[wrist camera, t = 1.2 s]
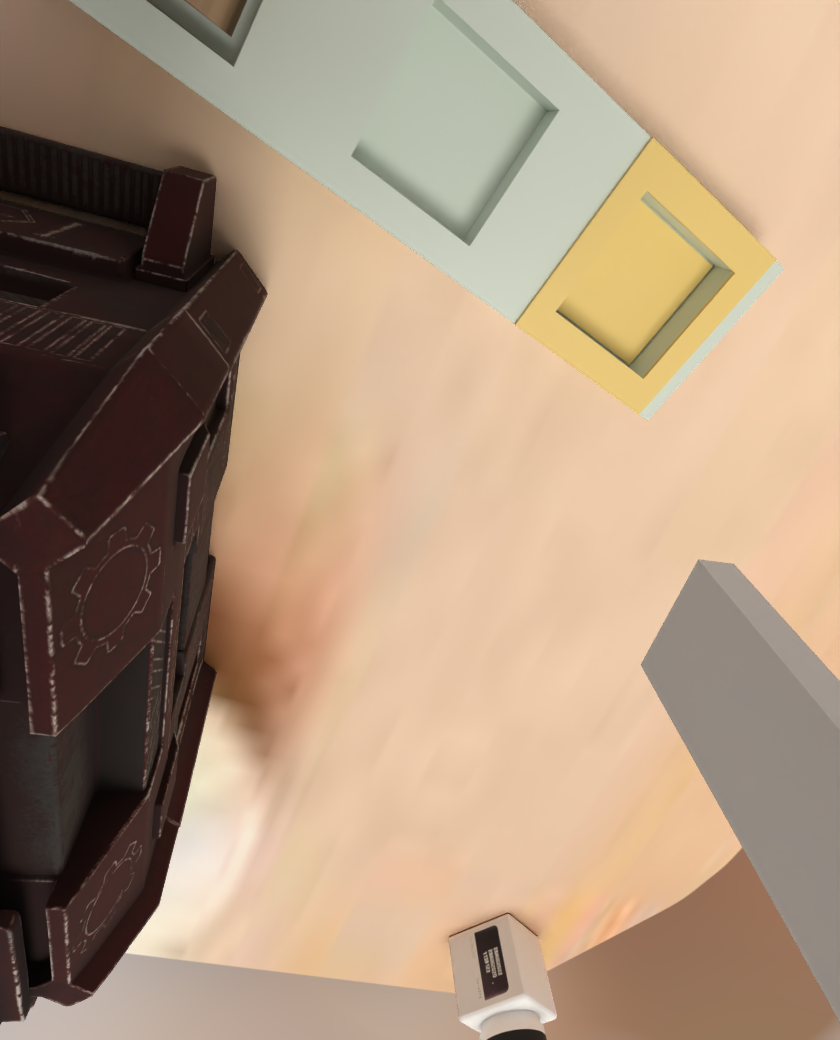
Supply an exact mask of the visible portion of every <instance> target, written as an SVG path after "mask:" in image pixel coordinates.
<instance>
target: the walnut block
mask: <svg viewBox="0 0 840 1040" xmlns="http://www.w3.org/2000/svg"><path fill="white" fill-rule="evenodd" d="M184 1H186V2H187V3H188V4H189V5H191V6H192V7H193V8H195V9H196V10H197V11H198V12H200V13H201V14H202V15H204V16H205V17H206V18H207V19H209V20H210V21H211V22H213V23H214V24H215V25H216V26H218V27H219V28H220V29H221V30H223V31H224V32H225V33H227V34H228V35H229V36H230V37H232V35H233V32H234V30H235V28H236V25H237V23H238V21H239V18H240V16H241V14H242V11H243V9H244V7H245V4H246V2H247V0H184Z"/></svg>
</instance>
